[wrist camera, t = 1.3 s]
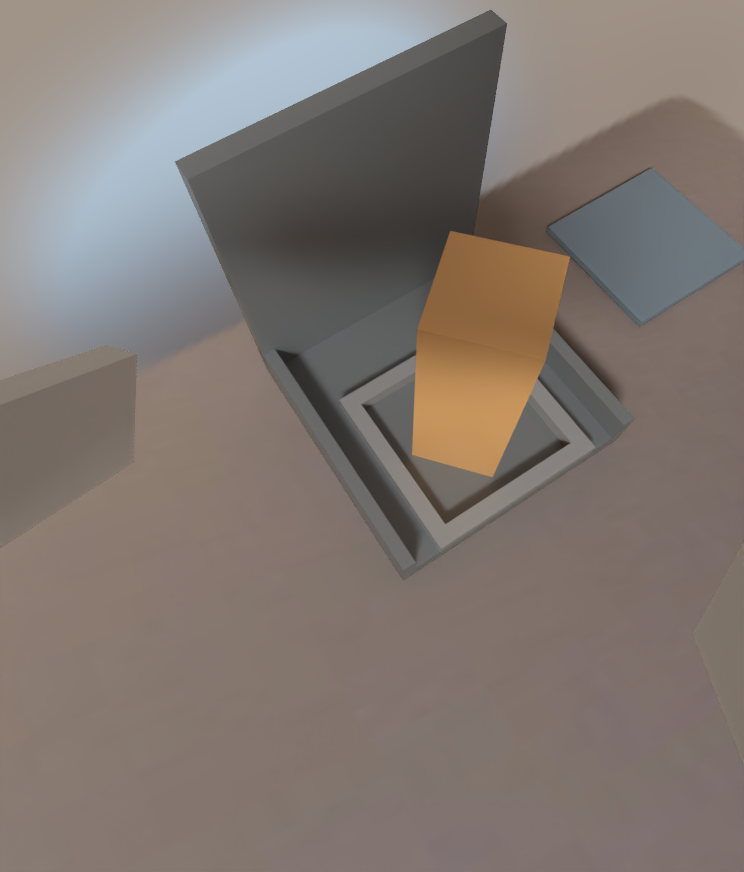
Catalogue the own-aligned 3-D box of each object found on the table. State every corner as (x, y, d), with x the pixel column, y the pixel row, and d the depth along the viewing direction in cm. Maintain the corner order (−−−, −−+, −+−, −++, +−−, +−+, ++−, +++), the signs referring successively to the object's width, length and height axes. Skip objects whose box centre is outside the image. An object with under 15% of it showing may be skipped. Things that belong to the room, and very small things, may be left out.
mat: (747, 259, 42) (751, 254, 41) (639, 326, 40) (642, 322, 39) (649, 172, 45) (652, 167, 45) (546, 231, 43) (548, 226, 43)
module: (511, 404, 37) (570, 256, 24) (492, 477, 35) (545, 360, 22) (433, 384, 37) (450, 230, 24) (412, 454, 36) (417, 329, 23)
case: (614, 441, 37) (779, 258, 21) (403, 580, 34) (403, 495, 18) (451, 254, 43) (480, 0, 27) (261, 359, 40) (166, 149, 24)
